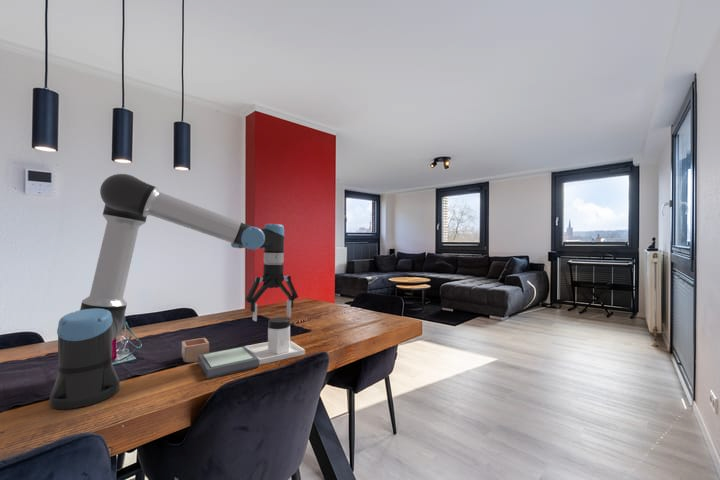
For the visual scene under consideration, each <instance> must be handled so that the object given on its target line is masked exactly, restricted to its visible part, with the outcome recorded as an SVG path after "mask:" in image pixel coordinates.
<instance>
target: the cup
mask: <svg viewBox="0 0 720 480" xmlns="http://www.w3.org/2000/svg"><path fill="white" fill-rule="evenodd" d="M206 353H210V341H208V339H207V338H206V337H201V338H195V339H188V340H182V341H181V357H182V361H183V362H184V363H197V362H198V355H201V354H206Z"/></svg>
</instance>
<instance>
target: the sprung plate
mask: <svg viewBox="0 0 720 480" xmlns="http://www.w3.org/2000/svg"><path fill="white" fill-rule="evenodd" d="M240 347H241V348H238V347H235V348H236V349H233V348H230V349H231V350H228V349H224V350H225V351H222V350H219V351H220V352H217V351H214V352H215V353H212V352H209V353H210V354H204V355H203V358H204V359H205V361H206V362H207V364H208V365H209V367H210V368H213V367H218V366H222V365H227V364H232V363H236V362H241V361H246V360H250V359H253V357H252V356H250V355H249V354H248V353H247V352H246V351H245V350H244V349H243V348H242V347H243V346H240Z"/></svg>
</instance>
